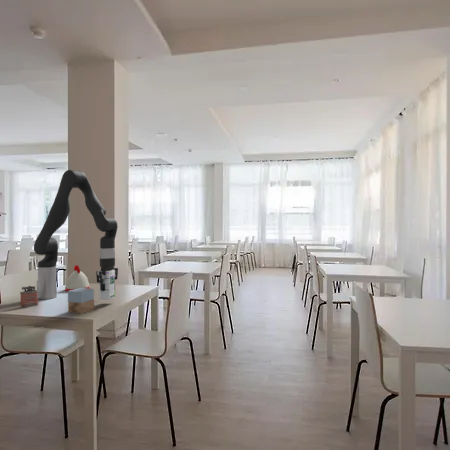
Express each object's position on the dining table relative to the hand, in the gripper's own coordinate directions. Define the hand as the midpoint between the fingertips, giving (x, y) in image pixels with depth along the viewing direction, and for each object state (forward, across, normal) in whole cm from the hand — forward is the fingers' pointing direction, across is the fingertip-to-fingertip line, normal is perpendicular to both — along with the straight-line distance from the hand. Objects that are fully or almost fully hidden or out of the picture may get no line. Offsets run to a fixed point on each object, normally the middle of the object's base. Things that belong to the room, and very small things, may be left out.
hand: (107, 289), depth 187 cm
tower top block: (+2, +16, -2) cm, 16 cm away
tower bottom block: (+7, +16, -2) cm, 18 cm away
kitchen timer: (+8, -25, -45) cm, 52 cm away
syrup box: (+5, 0, 0) cm, 5 cm away
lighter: (+8, +18, -34) cm, 39 cm away
